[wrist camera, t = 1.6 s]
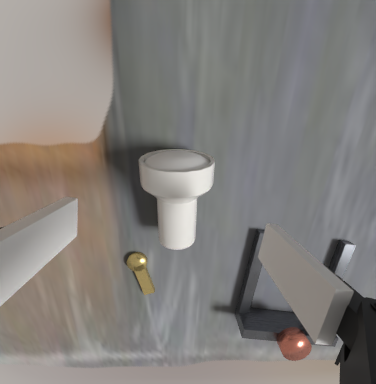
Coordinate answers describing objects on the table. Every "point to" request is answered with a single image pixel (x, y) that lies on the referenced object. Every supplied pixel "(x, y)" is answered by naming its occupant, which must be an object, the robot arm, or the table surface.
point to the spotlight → (176, 191)
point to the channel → (280, 320)
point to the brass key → (141, 271)
